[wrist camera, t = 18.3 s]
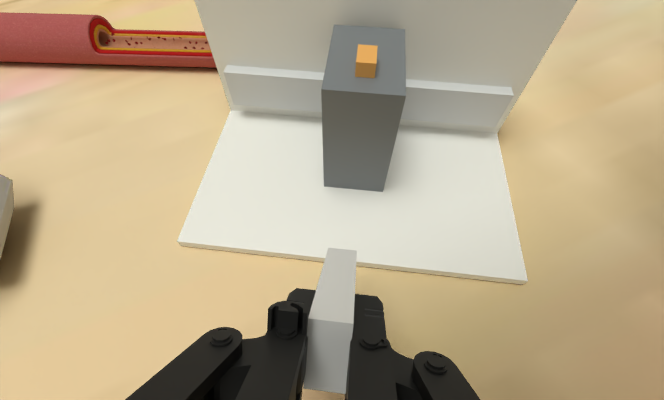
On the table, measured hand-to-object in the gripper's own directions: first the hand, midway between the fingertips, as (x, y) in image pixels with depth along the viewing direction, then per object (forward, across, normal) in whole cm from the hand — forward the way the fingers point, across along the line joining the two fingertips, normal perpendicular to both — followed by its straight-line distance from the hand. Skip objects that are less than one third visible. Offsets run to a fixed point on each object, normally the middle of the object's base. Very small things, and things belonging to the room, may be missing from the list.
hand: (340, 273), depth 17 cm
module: (+14, 0, +5) cm, 15 cm away
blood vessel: (+24, -23, +13) cm, 36 cm away
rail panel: (+13, 0, +3) cm, 13 cm away
